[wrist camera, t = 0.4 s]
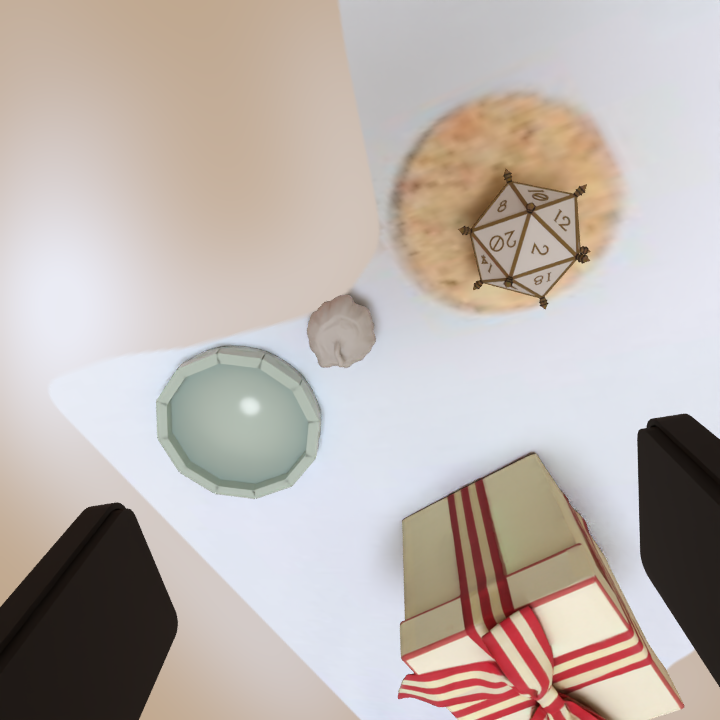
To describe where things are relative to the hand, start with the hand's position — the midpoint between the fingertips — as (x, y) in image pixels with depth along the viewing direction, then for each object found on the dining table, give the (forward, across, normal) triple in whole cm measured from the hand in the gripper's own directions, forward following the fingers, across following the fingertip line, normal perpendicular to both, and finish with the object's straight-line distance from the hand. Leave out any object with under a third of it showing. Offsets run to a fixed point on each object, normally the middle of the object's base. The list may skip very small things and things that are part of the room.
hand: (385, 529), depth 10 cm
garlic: (+34, +4, +5) cm, 34 cm away
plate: (+34, +15, +12) cm, 39 cm away
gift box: (+34, -5, +31) cm, 46 cm away
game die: (+33, -10, 0) cm, 35 cm away
